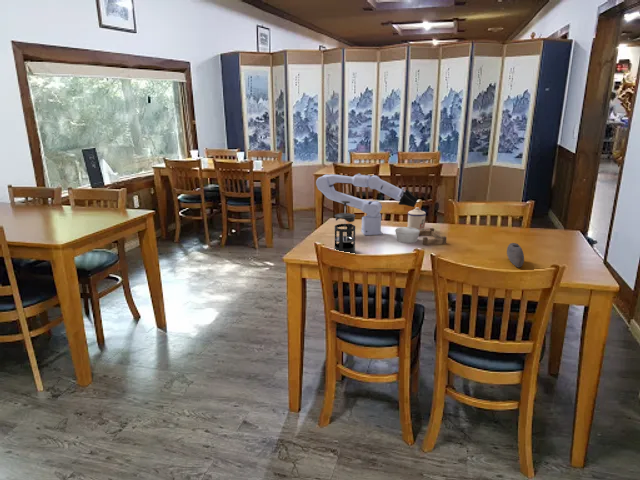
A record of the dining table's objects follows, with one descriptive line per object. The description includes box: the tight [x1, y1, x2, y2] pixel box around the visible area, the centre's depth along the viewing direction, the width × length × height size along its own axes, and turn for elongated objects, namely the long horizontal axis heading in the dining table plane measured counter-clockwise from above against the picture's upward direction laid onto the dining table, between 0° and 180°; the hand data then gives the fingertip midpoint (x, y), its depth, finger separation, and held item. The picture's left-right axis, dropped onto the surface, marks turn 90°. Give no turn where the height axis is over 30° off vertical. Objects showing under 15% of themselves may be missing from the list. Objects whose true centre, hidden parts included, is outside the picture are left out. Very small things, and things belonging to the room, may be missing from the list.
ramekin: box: [394, 226, 420, 244], centre depth 209 cm, size 11×11×5 cm
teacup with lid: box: [407, 206, 427, 231], centre depth 228 cm, size 12×9×12 cm
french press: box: [334, 201, 357, 254], centre depth 190 cm, size 12×9×23 cm
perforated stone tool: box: [506, 242, 525, 268], centre depth 177 cm, size 15×5×7 cm, turn 167°
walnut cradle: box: [418, 227, 448, 246], centre depth 211 cm, size 11×17×3 cm, turn 8°
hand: (415, 203), depth 212 cm, fingers open, 7 cm apart
